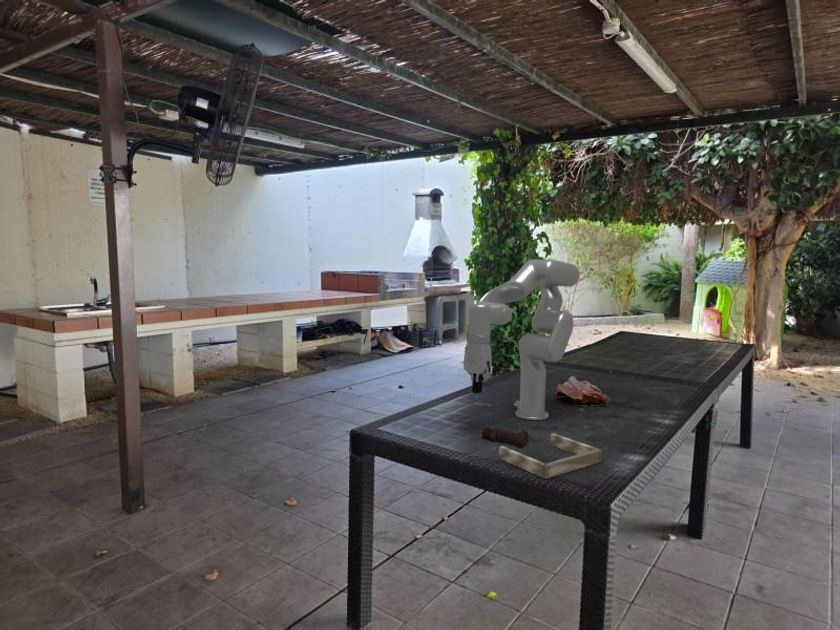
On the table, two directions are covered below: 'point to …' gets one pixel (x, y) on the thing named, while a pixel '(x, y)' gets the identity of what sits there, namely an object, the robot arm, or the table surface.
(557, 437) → the bay
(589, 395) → the meat
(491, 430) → the bolt
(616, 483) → the table surface
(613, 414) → the table surface
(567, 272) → the robot arm
